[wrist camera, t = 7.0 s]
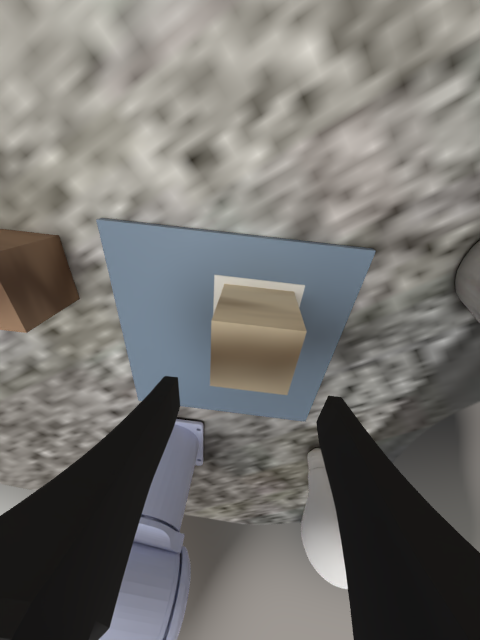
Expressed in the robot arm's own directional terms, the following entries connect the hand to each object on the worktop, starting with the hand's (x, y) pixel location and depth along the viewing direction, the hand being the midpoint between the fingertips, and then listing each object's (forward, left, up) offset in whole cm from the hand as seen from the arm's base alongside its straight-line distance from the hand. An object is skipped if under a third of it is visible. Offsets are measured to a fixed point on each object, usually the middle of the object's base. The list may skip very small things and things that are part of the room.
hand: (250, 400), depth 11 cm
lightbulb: (-18, -10, -8) cm, 22 cm away
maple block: (0, 0, -8) cm, 8 cm away
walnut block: (+2, +17, -8) cm, 19 cm away
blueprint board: (-3, +2, -8) cm, 9 cm away
